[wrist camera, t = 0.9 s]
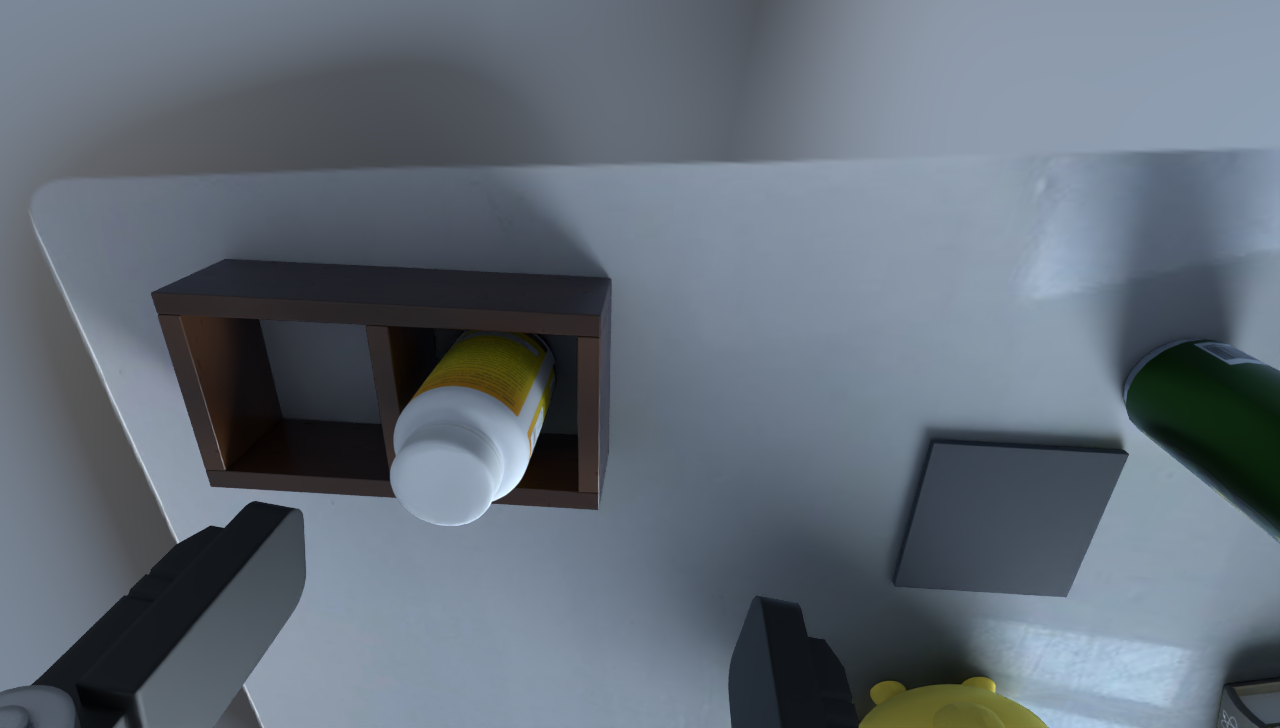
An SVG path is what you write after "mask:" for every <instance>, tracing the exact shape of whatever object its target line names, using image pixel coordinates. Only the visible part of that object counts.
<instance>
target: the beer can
mask: <svg viewBox="0 0 1280 728" xmlns="http://www.w3.org/2000/svg"><path fill="white" fill-rule="evenodd" d="M1123 399H1124V402H1125V406H1126V409H1127V413H1128V416H1129V419H1130V420H1131V421H1132V423H1133V424H1134V425H1135V426H1136V427H1137V428H1138V429H1139V430H1140V431H1141V432H1143V433H1144V434H1145V435H1146V436H1148V437H1149V438H1150V439H1151V440H1153V441H1154V442H1155V443H1156V444H1158V445H1159V446H1160V447H1161V448H1162V449H1164V450H1165V451H1166V452H1167V453H1169V454H1170V455H1171V456H1172V457H1174V458H1175V459H1176V460H1177V461H1179V462H1180V463H1181V464H1182V465H1184V466H1185V467H1186V468H1187V469H1188V470H1190V471H1191V472H1192V473H1193V474H1195V475H1196V476H1197V477H1198V478H1200V479H1201V480H1202V481H1203V482H1205V483H1206V484H1207V485H1208V486H1210V487H1211V488H1212V489H1213V490H1215V491H1216V492H1217V493H1218V494H1219V495H1221V496H1222V497H1223V498H1224V499H1226V500H1227V501H1228V502H1229V503H1231V504H1232V505H1233V506H1234V507H1236V508H1237V509H1238V510H1239V511H1241V512H1242V513H1243V514H1244V515H1246V516H1247V517H1248V518H1249V519H1250V520H1252V521H1253V522H1254V523H1255V524H1257V525H1258V526H1259V527H1260V528H1262V529H1263V530H1264V531H1265V532H1267V533H1268V534H1269V535H1270V536H1272V537H1273V538H1274V539H1275V540H1277V541H1278V542H1279V543H1280V371H1278V370H1277V369H1275V368H1273V367H1271V366H1269V365H1267V364H1265V363H1263V362H1261V361H1259V360H1257V359H1255V358H1253V357H1252V356H1250V355H1248V354H1246V353H1244V352H1242V351H1240V350H1238V349H1236V348H1234V347H1232V346H1230V345H1228V344H1226V343H1224V342H1222V341H1215V340H1207V339H1187V340H1180V341H1173V342H1171V343H1169V344H1166V345H1164V346H1161V347H1159V348H1156V349H1155V350H1154V351H1152V352H1151V353H1149V354H1148V355H1146V356H1145V357H1143V358H1142V359H1141V360H1140V361H1139V362H1138V364H1137V365H1136V366H1135V367H1134V368H1133V369H1132V370H1131V372H1130V374H1129V376H1128V378H1127V380H1126V382H1125V384H1124V392H1123Z"/></svg>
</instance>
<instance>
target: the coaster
mask: <svg viewBox="0 0 1280 728" xmlns="http://www.w3.org/2000/svg"><path fill="white" fill-rule="evenodd" d="M1128 455H1129V454H1128V453H1127V452H1126V451H1125V450H1112V449H1094V448H1076V447H1058V446H1040V445H1023V444H1005V443H987V442H969V441H951V440H933V439H932V440H931V442H930V446H929V450H928V453H927V457H926V461H925V464H924V468H923V472H922V475H921V479H920V482H919V486H918V490H917V493H916V497H915V501H914V504H913V508H912V512H911V515H910V519H909V523H908V526H907V530H906V534H905V537H904V541H903V545H902V548H901V552H900V556H899V559H898V563H897V567H896V570H895V574H894V578H893V581H892V582H893V585H894V586H895V587H911V588H926V589H942V590H958V591H974V592H990V593H1006V594H1022V595H1038V596H1054V597H1067V595H1068V593H1069V590H1070V588H1071V586H1072V584H1073V581H1074V579H1075V577H1076V574H1077V572H1078V570H1079V568H1080V565H1081V563H1082V561H1083V558H1084V556H1085V554H1086V552H1087V549H1088V547H1089V545H1090V542H1091V540H1092V538H1093V535H1094V533H1095V531H1096V529H1097V526H1098V524H1099V522H1100V519H1101V517H1102V515H1103V513H1104V510H1105V508H1106V506H1107V503H1108V501H1109V499H1110V497H1111V494H1112V492H1113V490H1114V487H1115V485H1116V483H1117V480H1118V478H1119V476H1120V474H1121V471H1122V469H1123V467H1124V464H1125V462H1126V460H1127V458H1128Z"/></svg>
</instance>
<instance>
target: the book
mask: <svg viewBox="0 0 1280 728" xmlns="http://www.w3.org/2000/svg"><path fill="white" fill-rule="evenodd" d="M1217 728H1280V678H1275V679H1267V680H1258V681H1250V682H1241V683H1233V684H1228V685H1224V689H1223V695H1222V700H1221V706H1220V712H1219V718H1218V723H1217Z"/></svg>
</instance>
